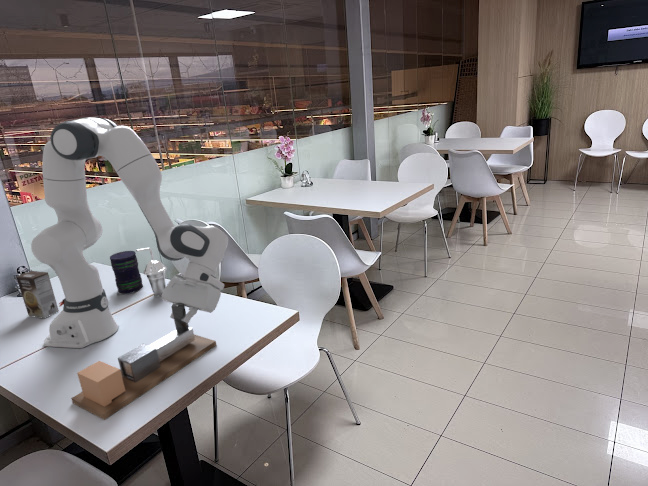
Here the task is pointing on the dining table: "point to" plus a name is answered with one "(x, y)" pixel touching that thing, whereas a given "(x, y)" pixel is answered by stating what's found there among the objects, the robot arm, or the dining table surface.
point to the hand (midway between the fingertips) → (179, 320)
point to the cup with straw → (155, 274)
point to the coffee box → (37, 293)
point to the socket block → (101, 383)
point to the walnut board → (147, 378)
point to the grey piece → (171, 337)
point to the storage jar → (126, 272)
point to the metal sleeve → (140, 362)
